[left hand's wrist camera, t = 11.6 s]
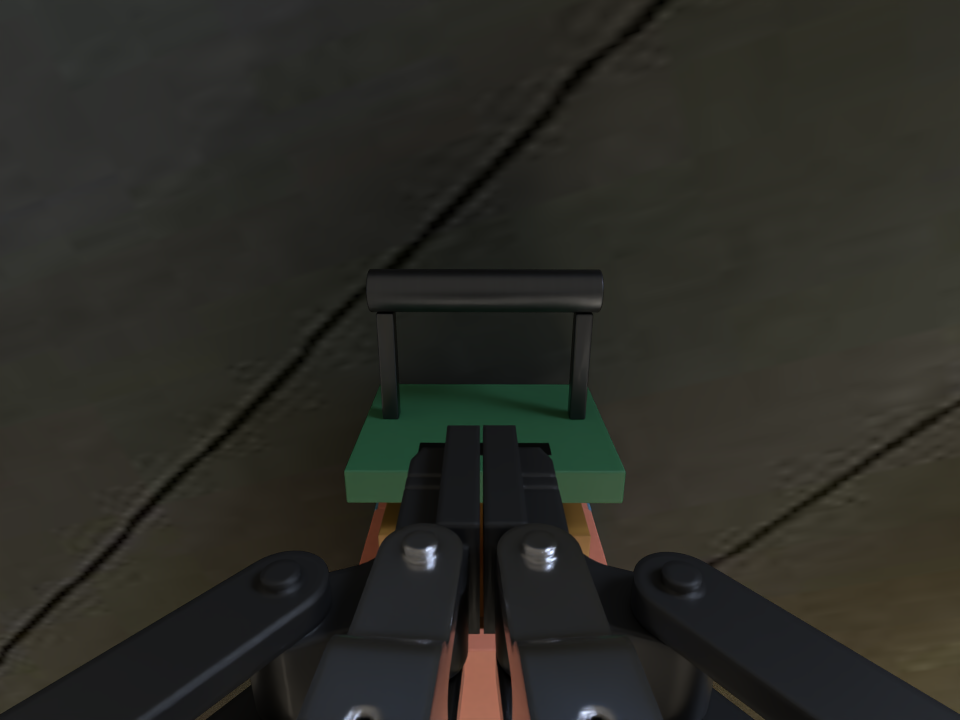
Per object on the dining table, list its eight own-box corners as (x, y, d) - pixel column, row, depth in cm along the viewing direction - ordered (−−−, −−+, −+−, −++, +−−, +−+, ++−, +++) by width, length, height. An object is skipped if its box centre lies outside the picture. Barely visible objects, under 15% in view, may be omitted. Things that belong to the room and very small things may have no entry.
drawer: (371, 253, 22) (326, 297, 16) (596, 253, 22) (645, 298, 16) (394, 610, 29) (369, 747, 22) (570, 610, 29) (596, 747, 22)
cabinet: (378, 495, 27) (333, 650, 19) (587, 496, 27) (634, 650, 19) (392, 701, 32) (362, 896, 24) (570, 701, 32) (602, 896, 24)
